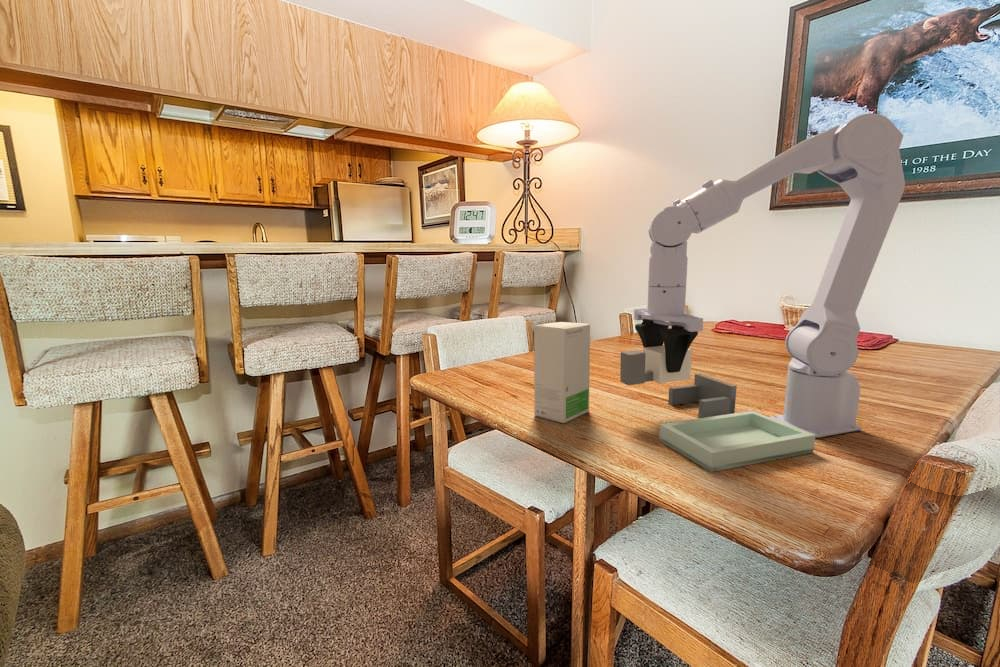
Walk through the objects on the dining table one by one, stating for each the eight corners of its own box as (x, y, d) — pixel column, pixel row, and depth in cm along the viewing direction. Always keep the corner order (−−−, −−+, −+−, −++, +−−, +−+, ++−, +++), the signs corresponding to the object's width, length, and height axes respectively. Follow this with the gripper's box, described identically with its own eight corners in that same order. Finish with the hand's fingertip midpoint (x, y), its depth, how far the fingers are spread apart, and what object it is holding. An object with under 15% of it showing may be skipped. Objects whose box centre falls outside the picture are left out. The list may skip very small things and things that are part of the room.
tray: (751, 425, 68) (752, 410, 67) (813, 452, 58) (815, 434, 58) (659, 440, 63) (659, 424, 63) (710, 472, 54) (712, 453, 53)
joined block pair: (672, 372, 76) (673, 344, 75) (690, 379, 71) (691, 349, 70) (616, 379, 72) (617, 350, 72) (632, 387, 68) (633, 356, 67)
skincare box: (563, 425, 69) (564, 329, 67) (531, 415, 74) (530, 325, 71) (590, 411, 76) (592, 322, 73) (559, 403, 80) (560, 319, 77)
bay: (697, 399, 81) (699, 373, 80) (734, 414, 73) (736, 385, 72) (668, 403, 79) (669, 376, 78) (702, 419, 71) (704, 389, 70)
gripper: (620, 284, 76) (618, 360, 78) (676, 289, 62) (672, 381, 64) (654, 283, 78) (651, 357, 80) (716, 288, 64) (710, 377, 66)
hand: (663, 368), depth 72 cm, fingers closed on joined block pair, 4 cm apart
